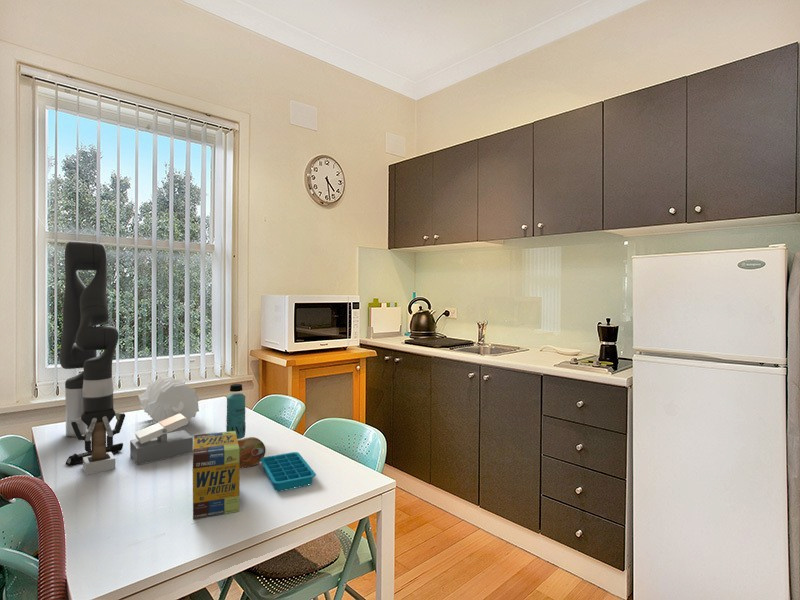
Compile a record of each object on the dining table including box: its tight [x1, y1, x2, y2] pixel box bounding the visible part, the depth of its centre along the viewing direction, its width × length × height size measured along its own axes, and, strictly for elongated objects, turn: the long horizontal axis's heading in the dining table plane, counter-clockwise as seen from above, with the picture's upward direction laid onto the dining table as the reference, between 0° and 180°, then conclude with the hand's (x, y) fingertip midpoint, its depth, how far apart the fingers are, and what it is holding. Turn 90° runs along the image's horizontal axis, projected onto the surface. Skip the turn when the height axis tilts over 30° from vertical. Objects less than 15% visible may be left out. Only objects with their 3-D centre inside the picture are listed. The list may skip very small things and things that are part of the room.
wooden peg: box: [90, 422, 107, 462], centre depth 133 cm, size 4×4×14 cm
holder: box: [82, 452, 116, 476], centre depth 134 cm, size 7×7×3 cm
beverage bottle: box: [225, 383, 247, 439], centre depth 157 cm, size 6×7×20 cm
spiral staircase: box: [137, 376, 201, 426], centre depth 178 cm, size 18×18×25 cm
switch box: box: [129, 429, 194, 466], centre depth 145 cm, size 10×16×7 cm, turn 131°
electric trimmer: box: [65, 442, 124, 467], centre depth 142 cm, size 4×16×3 cm, turn 145°
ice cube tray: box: [260, 451, 317, 492], centre depth 129 cm, size 12×20×3 cm, turn 28°
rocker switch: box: [134, 413, 189, 444], centre depth 145 cm, size 8×14×2 cm, turn 131°
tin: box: [237, 436, 266, 469], centre depth 135 cm, size 15×3×8 cm, turn 117°
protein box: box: [192, 431, 240, 520], centre depth 113 cm, size 10×15×16 cm
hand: (98, 450), depth 133 cm, fingers open, 4 cm apart
